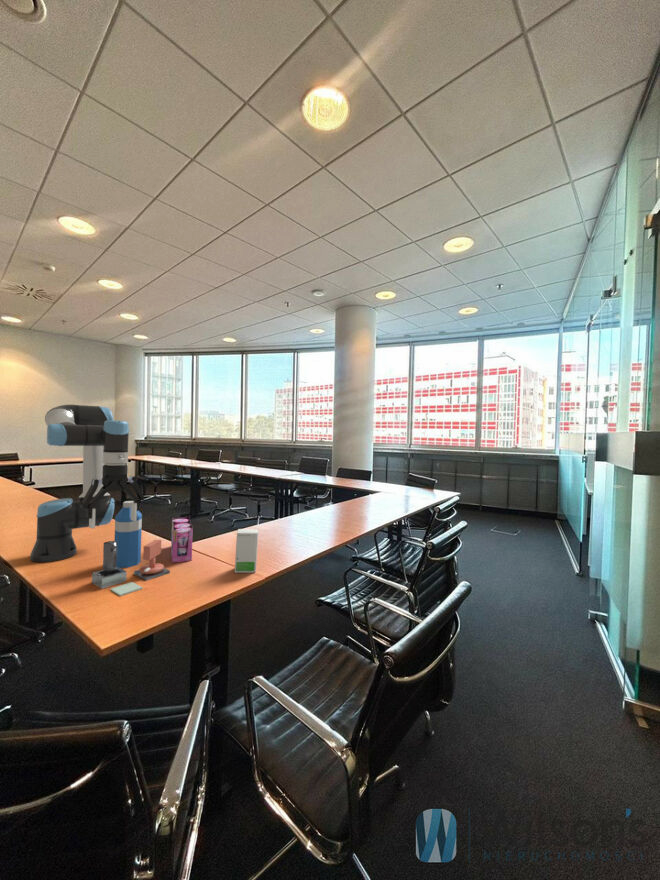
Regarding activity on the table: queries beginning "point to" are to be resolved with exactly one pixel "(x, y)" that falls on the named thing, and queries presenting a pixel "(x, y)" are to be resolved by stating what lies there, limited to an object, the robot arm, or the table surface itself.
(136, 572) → the wheel base
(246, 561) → the skincare box
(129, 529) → the water bottle
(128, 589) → the mat
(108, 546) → the hook peg
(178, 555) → the gum box
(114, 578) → the block
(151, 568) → the pink block-head stand
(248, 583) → the table surface
